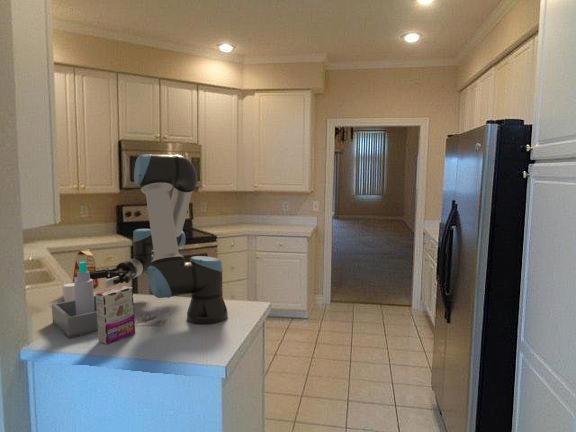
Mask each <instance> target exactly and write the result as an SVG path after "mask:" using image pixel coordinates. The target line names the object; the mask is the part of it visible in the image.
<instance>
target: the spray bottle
mask: <svg viewBox="0 0 576 432" xmlns="http://www.w3.org/2000/svg"><path fill="white" fill-rule="evenodd" d="M74 286H75V305H76V315H81V314H86V313H90V312H95V311H94V295H95V294H94V293H95V292H94V291H95V290H94V291H93V279H90V275H89V271H87V262H79V272H77V280H76V281H74Z"/></svg>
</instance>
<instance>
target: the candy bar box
mask: <svg viewBox="0 0 576 432" xmlns="http://www.w3.org/2000/svg"><path fill="white" fill-rule="evenodd" d="M94 295H95V296H96V310H97V324H98V332H97V335H98V336H97V337H98V342H99V343H101V344H104V345H110V344H113V343H115V342H118V341H120V340H122V339H125V338H128V337H130V336H132V335H135V334H136V325H135V324H136V323H135V305H134V288H133V287H132V286H127V285H123V286H118V287H115V288H112V289H111V288H110V289H107V290H104V291H101V292H97V293H95V294H94Z"/></svg>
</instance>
